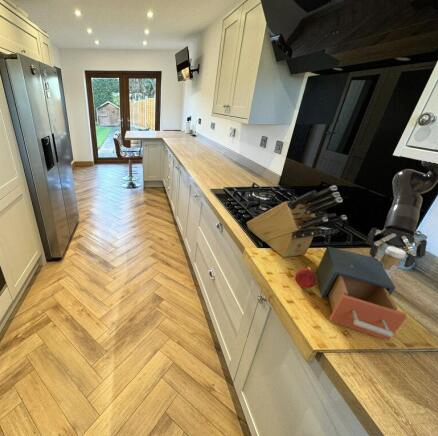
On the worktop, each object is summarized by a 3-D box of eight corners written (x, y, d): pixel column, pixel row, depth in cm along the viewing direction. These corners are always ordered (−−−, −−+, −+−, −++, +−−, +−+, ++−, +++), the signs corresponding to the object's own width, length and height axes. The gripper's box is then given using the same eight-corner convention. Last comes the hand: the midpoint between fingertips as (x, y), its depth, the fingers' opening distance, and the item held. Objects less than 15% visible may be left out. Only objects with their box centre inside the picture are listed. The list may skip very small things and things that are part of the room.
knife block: (300, 273, 85) (333, 193, 72) (244, 227, 116) (260, 165, 102) (325, 270, 88) (362, 192, 74) (264, 226, 118) (282, 165, 105)
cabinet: (377, 315, 69) (395, 287, 64) (321, 298, 75) (335, 271, 70) (362, 283, 82) (377, 258, 77) (316, 270, 87) (327, 246, 82)
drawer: (396, 357, 56) (416, 332, 53) (333, 334, 62) (347, 309, 58) (371, 303, 72) (386, 281, 68) (323, 288, 77) (333, 266, 73)
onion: (316, 291, 77) (325, 272, 74) (302, 294, 76) (311, 275, 72) (301, 279, 82) (309, 261, 79) (288, 282, 81) (295, 263, 77)
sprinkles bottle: (365, 277, 85) (384, 246, 79) (376, 276, 86) (395, 245, 80) (379, 286, 81) (399, 254, 75) (389, 285, 81) (410, 253, 76)
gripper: (424, 230, 82) (412, 272, 79) (371, 218, 90) (359, 256, 87) (437, 222, 76) (425, 267, 73) (379, 209, 84) (366, 250, 80)
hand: (389, 261), depth 80 cm, fingers open, 8 cm apart
